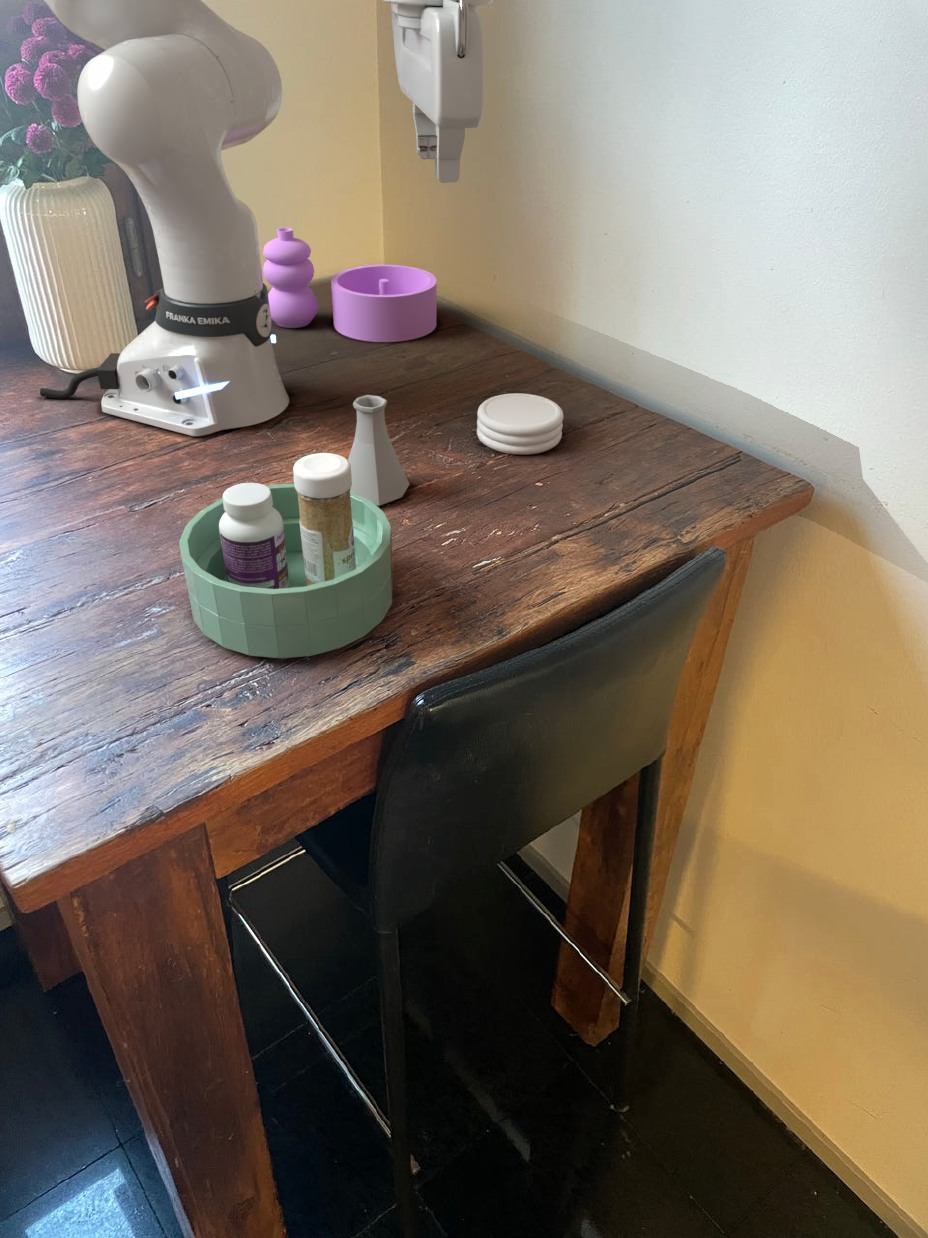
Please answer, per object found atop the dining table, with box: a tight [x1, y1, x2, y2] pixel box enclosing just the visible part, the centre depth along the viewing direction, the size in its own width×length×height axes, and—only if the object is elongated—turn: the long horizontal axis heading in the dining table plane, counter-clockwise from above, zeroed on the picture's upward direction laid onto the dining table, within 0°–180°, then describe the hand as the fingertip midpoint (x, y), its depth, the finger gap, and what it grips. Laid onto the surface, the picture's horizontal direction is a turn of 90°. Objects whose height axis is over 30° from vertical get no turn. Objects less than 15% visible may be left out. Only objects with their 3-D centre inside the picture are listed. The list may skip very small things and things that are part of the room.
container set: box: [262, 227, 437, 343], centre depth 135 cm, size 25×15×13 cm, turn 91°
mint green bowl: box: [178, 482, 394, 659], centre depth 81 cm, size 17×18×7 cm
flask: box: [347, 394, 410, 507], centre depth 96 cm, size 7×7×10 cm
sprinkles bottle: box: [292, 452, 356, 586], centre depth 78 cm, size 5×5×13 cm
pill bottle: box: [219, 482, 289, 589], centre depth 80 cm, size 5×5×10 cm
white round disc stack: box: [476, 392, 564, 456], centre depth 109 cm, size 10×10×4 cm
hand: (437, 168), depth 81 cm, fingers open, 8 cm apart
